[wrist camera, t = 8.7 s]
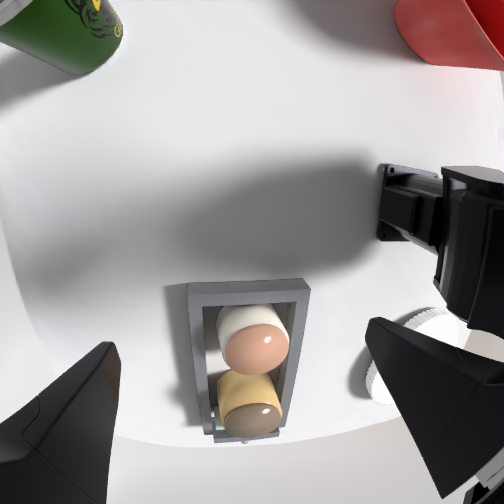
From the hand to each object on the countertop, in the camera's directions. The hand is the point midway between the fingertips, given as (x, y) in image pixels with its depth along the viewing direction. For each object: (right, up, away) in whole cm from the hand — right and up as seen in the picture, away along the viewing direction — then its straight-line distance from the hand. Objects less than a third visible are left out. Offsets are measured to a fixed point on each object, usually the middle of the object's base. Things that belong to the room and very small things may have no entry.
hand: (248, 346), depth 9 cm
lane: (-1, -8, +16) cm, 17 cm away
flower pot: (+16, +24, +7) cm, 30 cm away
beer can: (-11, +18, +4) cm, 22 cm away
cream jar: (0, -3, +14) cm, 14 cm away
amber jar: (-1, -10, +17) cm, 19 cm away
